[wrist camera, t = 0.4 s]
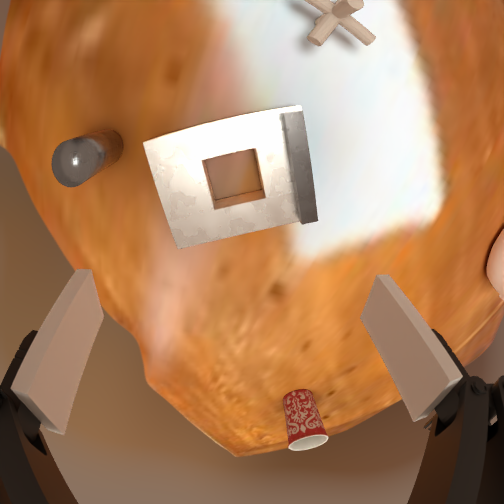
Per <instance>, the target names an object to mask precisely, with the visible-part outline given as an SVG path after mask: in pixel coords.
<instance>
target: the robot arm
mask: <svg viewBox="0 0 504 504" xmlns="http://www.w3.org/2000/svg"><path fill="white" fill-rule="evenodd" d="M103 318H104V315H103V312H102V308H101V305H100V301H99V298H98V294H97V291H96V287H95V283H94V279H93V275H92V271H91V270H89V269H77V270H76V271H75V273H74V274H73V276H72V277H71V279H70V280H69V282H68V283H67V285H66V286H65V288H64V289H63V291H62V292H61V294H60V296H59V297H58V299H57V301H56V302H55V304H54V305H53V307H52V309H51V310H50V312H49V314H48V315H47V317H46V319H45V320H44V322H43V324H42V326H41V328H40V329H39V331H35V330H33V331H31V332H30V333H29V334H28V335H27V336H26V337H25V338H24V340H23V341H22V343H21V345H20V347H19V350H18V351H17V352H16V354H15V358H14V359H13V360H12V362H11V364H10V366H9V368H8V370H7V372H6V374H5V377H4V379H3V381H2V383H1V385H0V504H78V502H77V500H76V499H75V497H74V496H73V494H72V492H71V491H70V489H69V487H68V486H67V484H66V482H65V480H64V478H63V476H62V474H61V473H60V471H59V469H58V467H57V465H56V463H55V461H54V459H53V457H52V455H51V452H50V450H49V448H48V446H47V444H46V441H45V439H44V436H43V434H42V432H41V431H40V429H39V428H40V424H41V423H42V424H43V425H44V426H45V427H46V428H47V429H48V430H50V431H53V432H56V433H59V434H62V435H65V431H66V427H67V423H68V419H69V415H70V412H71V408H72V405H73V401H74V398H75V395H76V392H77V389H78V385H79V382H80V379H81V376H82V373H83V370H84V367H85V364H86V362H87V359H88V356H89V353H90V351H91V348H92V345H93V343H94V340H95V338H96V335H97V333H98V330H99V327H100V325H101V323H102V320H103ZM360 319H361V321H362V322H363V324H364V326H365V328H366V329H367V331H368V333H369V335H370V337H371V339H372V340H373V342H374V344H375V346H376V348H377V350H378V352H379V353H380V355H381V357H382V359H383V361H384V363H385V365H386V367H387V369H388V371H389V373H390V375H391V377H392V379H393V381H394V383H395V385H396V387H397V389H398V391H399V393H400V395H401V397H402V399H403V401H404V403H405V405H406V407H407V409H408V411H409V413H410V415H411V418H412V420H413V421H417V420H419V419H422V418H424V417H427V416H428V415H429V414H430V413H431V412H432V411H433V410H434V409H435V411H436V414H435V415H434V416H433V418H431V419H430V420H429V421H428V422H427V423H426V424H425V426H424V428H427V427H428V426H429V425H430V424H431V423H432V425H431V427H430V428H429V430H430V434H429V438H428V442H427V446H426V450H425V453H424V457H423V460H422V463H421V467H420V470H419V473H418V476H417V479H416V482H415V485H414V488H413V490H412V493H411V496H410V498H409V501H408V503H407V504H504V376H501V377H500V378H499V379H498V380H497V381H496V383H495V384H486V383H485V382H484V381H483V380H482V379H481V378H479V377H477V376H472V377H470V376H469V375H468V373H467V372H466V370H465V369H464V367H463V366H462V364H461V363H460V361H459V360H458V358H457V357H456V355H455V354H454V353H453V352H452V350H451V348H450V347H449V346H448V345H447V343H446V341H445V340H444V338H443V337H442V336H441V335H440V334H439V333H438V332H437V331H435V330H434V329H431V328H430V327H429V326H428V324H427V323H426V322H425V320H424V319H423V318H422V316H421V315H420V314H419V312H418V311H417V310H416V308H415V307H414V306H413V304H412V303H411V302H410V301H409V299H408V298H407V297H406V295H405V294H404V293H403V292H402V290H401V289H400V288H399V287H398V285H397V284H396V283H395V282H394V280H393V279H392V278H391V277H390V276H389V275H376V278H375V280H374V283H373V286H372V289H371V291H370V294H369V297H368V299H367V302H366V304H365V307H364V309H363V312H362V314H361V317H360ZM496 415H497V421H496V422H495V423H494V424H493V425H491V423H490V420H491V419H493V418H494V417H495V416H496Z"/></svg>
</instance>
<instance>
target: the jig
mask: <svg viewBox="0 0 504 504" xmlns="http://www.w3.org/2000/svg"><path fill="white" fill-rule="evenodd" d="M143 145H144V149H145V152H146V156H147V159H148V162H149V166H150V169H151V172H152V175H153V178H154V182H155V185H156V188H157V191H158V194H159V197H160V200H161V203H162V206H163V209H164V212H165V215H166V218H167V221H168V224H169V226H170V229H171V232H172V235H173V238H174V240H175V243H176V246H177V249H182V248H186V247H190V246H194V245H198V244H202V243H207V242H211V241H215V240H219V239H224V238H228V237H232V236H236V235H241V234H245V233H250V232H254V231H258V230H263V229H267V228H272V227H276V226H281V225H285V224H290V223H294V222H299V221H300V222H301V224H306V223H311V222H316V221H318V217H317V207H316V199H315V190H314V183H313V175H312V168H311V161H310V154H309V147H308V141H307V134H306V128H305V122H304V117H303V111H302V108H301V106H287V107H281V108H274V109H268V110H263V111H257V112H252V113H247V114H242V115H237V116H232V117H228V118H224V119H219V120H215V121H211V122H207V123H203V124H199V125H195V126H192V127H188V128H185V129H181V130H178V131H174V132H171V133H168V134H164V135H161V136H158V137H155V138H152V139H149V140H147V141H145V142H143ZM251 148H254V153H255V157H256V162H257V167H258V172H259V177H260V182H261V187H262V190H258V191H254V192H249V193H245V194H241V195H236V196H232V197H228V198H224V199H219V200H215V198H214V194H213V190H212V187H211V183H210V179H209V175H208V171H207V168H206V164H205V160H204V159H208V158H212V157H216V156H220V155H224V154H229V153H233V152H237V151H242V150H246V149H251Z"/></svg>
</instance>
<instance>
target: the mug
mask: <svg viewBox="0 0 504 504" xmlns="http://www.w3.org/2000/svg"><path fill="white" fill-rule="evenodd" d="M283 404H284V410H285V418H286V425H287V434H288V441H289V445H288V448H289V449H291V450H307V449H311V448H314V447H317V446H319V445H321V444H323V443H325V442H326V441H327V440H328V435H327V434H326V431H325V429H324V426H323V423H322V420H321V417H320V414H319V412H318V409H317V406H316V403H315V401H314V398H313V395H312V392H311V391H309V390H304V389H302V390H296V391H292V392H290V393H288V394H287V395H286V396H285V397H284V398H283Z"/></svg>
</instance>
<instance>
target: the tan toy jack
mask: <svg viewBox="0 0 504 504" xmlns="http://www.w3.org/2000/svg"><path fill="white" fill-rule="evenodd" d="M305 1H306V2H308V3H309V4H311V5H312V6H314V7H316V8H317V9H319V10H320V11H321V12H323V13H324V14H323V15H321V16H320V17H319V18H318V19H316V21H315V25H316V26H315V27H314V29H313V30H312V31H311V32H310V34H309V35H308V36H307V39H308V40H309V41H310V42H311V43H313V44H315V45H317V46H321V45H322V44H323V43H324V42H325V40H326V39H327V38H328V37H329V35H330V34H331V33H332V31H333V30H334V29H335V28H336V27H337V25H338V24H340V25H341V26H342V27H344V28H345V29H346V30H347V31H349V32H350V33H351V34H353V35H354V36H355V37H356V38H357V39H359V40H360V41H361V42H362V43H363V44H365V45H366V46H368V45H370V44H371V43H372V42H373V41H374V40H375V38H376V36H375V35H373V34H372V33H371V32H370V31H369V30H368V29H366V28H365V27H364V26H363V25H362V24H360V23H359V22H358V21H357V20H355V19H354V18H353V17H352V16H350V15H351V14H352V13H354V12H356V11H358V10H360V9H361V8H363V6H364V2H363V0H337V1H336V3H335V4H334V3H333V2H331V1H330V0H305Z"/></svg>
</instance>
